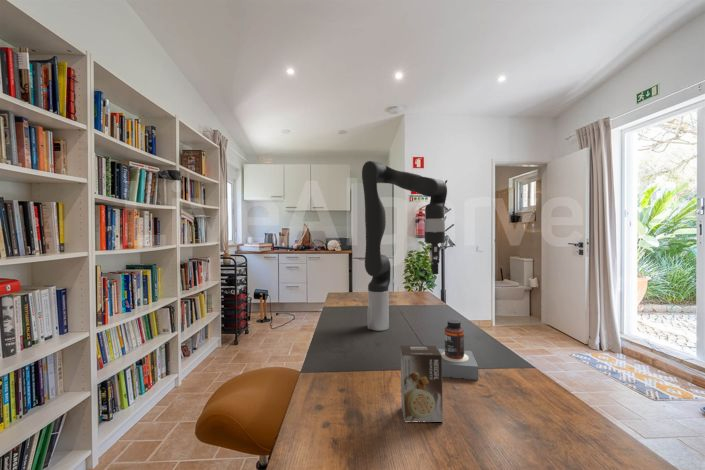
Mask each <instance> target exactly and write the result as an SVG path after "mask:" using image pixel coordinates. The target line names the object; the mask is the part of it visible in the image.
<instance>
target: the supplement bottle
mask: <svg viewBox="0 0 705 470" xmlns="http://www.w3.org/2000/svg"><path fill="white" fill-rule="evenodd" d="M444 349H445V355H446V356H447V357H449V358H452V359H461V358H463V357H464V350H465V330H464V329H463V327H461V321H460V320H458V319H456V318H455V319H453V318H452V319H451V318H450V319H448V320H447V326H445V328H444Z"/></svg>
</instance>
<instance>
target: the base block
mask: <svg viewBox="0 0 705 470" xmlns="http://www.w3.org/2000/svg"><path fill="white" fill-rule="evenodd" d="M437 349H438V350H439V352H440V354H441V355H442V378H450V377H452V379H461V378H464V380H475V381H479V365H478V363H477V361H476V359H475V357H474V354H473V352H472V350H465V349H464V357H463V358H461V359H452V358H449V357H447V356H446V355H445V348H437Z"/></svg>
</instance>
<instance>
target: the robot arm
mask: <svg viewBox="0 0 705 470" xmlns="http://www.w3.org/2000/svg"><path fill="white" fill-rule="evenodd" d="M361 169H362V170H361V180H362V187H363V194H364V195H363V196H364V223H365V224H364V225H365V255H364V268H365V272H366V273H367V274H368V275H369V277H372V278H371V280H370V282H369V283H368V285H367V297H368V300H367V303H368V305H367V310H366V311H367V316H366V317H367V329H368V330H372V331H377V332H378V331H386V330H388V329H389V328H390V327H389V321H390V320H389V319H390V317H389V313H390V312H389V308H390V307H389V304H390V303H389V287H390V284H391V270H392V269H391V262H390V259H389V257H388V256H386V255H384V254H381V253H382V251H381V245H382V244H381V243H382V240H383V236H384V233H385V231H386V223H387V222H386V221H387V220H386V209H385V207H384V204H383V202H382V200H381V198H380V196H379V195H380V194H379V192H378V184H391V185H394V186H397V187H399V188H401V189H403V190H406V191H410V192H413V193H417V194H419V195H422V196H425V197H428V198H430V201H429V203H428V204H426V206H425V207H424V208H425V209H424V212H425V213H424V216H425V217H424V218H425V219H424V243H425V244H430V247H429V248H428V252H429V259H430V260H429V261H430V270H431V274H432V275H438V274H439V263H440V258H441V248H440V247H439V244H444V243H445V238H446V237H445V234H446V233H445V232H446V231H445V228H446V227H445V226H446V225H445V210H444V209H445V204H446V200H447V195H448V188H447V183H446V182H445V181H444V180H441V179H437V178H432V177H429V176H428V177H427V176H422V175H420V174H417V173H413V172H408V171H401V170H397V169H394V168H391V167H389V166H388V165H385V164H384V163H382V162H379V161H378V162H377V161H372V160H367V161H366V162H364V164H363V165H362V168H361Z"/></svg>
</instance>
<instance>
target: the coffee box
mask: <svg viewBox="0 0 705 470" xmlns="http://www.w3.org/2000/svg"><path fill="white" fill-rule="evenodd" d="M438 349H439V348H437V347H436V345H405V344H403V345H401V344H400V393H401V395H400V397H401V401H400V402H401V403H400V404H401V406H400V407H402V408H401V412H403V413H402V417H404V418H403V421H404V420H405V421H418V422H419V421H420V422H423V421H425V422H443V423H444V411H443V410H444V409H443V405H444V404H443V377H442V355H441V354H440V352H439V350H438Z"/></svg>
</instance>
